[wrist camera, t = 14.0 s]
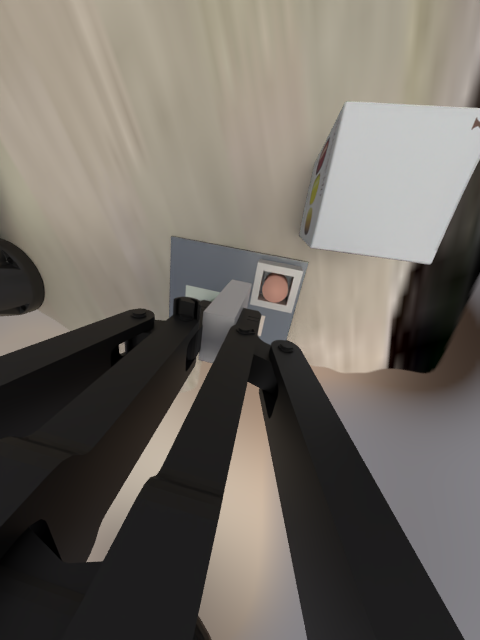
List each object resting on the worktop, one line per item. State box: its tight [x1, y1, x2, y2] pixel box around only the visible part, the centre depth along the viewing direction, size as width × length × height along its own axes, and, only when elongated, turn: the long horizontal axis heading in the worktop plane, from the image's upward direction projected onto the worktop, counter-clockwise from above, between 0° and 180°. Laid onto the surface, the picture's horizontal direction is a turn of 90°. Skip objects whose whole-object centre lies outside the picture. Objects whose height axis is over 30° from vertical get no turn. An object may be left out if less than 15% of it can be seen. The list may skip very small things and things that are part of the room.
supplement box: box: [299, 101, 480, 264], centre depth 23 cm, size 10×9×17 cm
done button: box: [262, 273, 288, 303], centre depth 33 cm, size 4×4×4 cm
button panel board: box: [169, 236, 308, 345], centre depth 36 cm, size 22×16×4 cm
